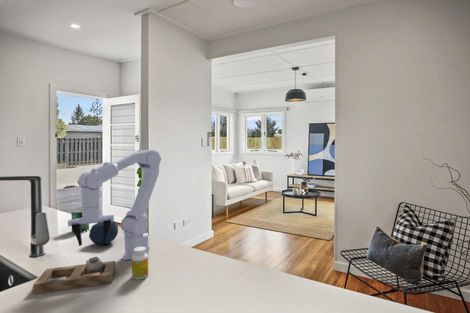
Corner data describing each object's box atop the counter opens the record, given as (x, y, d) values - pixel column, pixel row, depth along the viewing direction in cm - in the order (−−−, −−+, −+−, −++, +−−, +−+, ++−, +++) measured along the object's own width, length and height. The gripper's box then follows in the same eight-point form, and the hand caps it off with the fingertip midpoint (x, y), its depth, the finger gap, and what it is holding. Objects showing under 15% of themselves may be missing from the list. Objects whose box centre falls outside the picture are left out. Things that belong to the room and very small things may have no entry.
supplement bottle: (133, 281, 93) (132, 252, 92) (131, 274, 98) (130, 247, 97) (149, 277, 95) (149, 249, 95) (146, 271, 100) (146, 244, 100)
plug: (99, 274, 98) (98, 255, 98) (102, 278, 95) (101, 258, 95) (86, 277, 96) (85, 258, 95) (89, 282, 92) (88, 262, 92)
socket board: (115, 268, 102) (115, 259, 102) (111, 283, 92) (110, 273, 91) (46, 277, 96) (46, 267, 96) (33, 294, 85) (33, 283, 85)
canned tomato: (83, 233, 142) (83, 212, 141) (68, 233, 142) (67, 212, 141) (92, 228, 150) (91, 208, 149) (77, 228, 150) (76, 208, 149)
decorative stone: (98, 239, 133) (97, 218, 133) (122, 239, 133) (122, 218, 132) (84, 248, 121) (83, 226, 121) (111, 248, 121) (110, 226, 120)
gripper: (113, 201, 105) (114, 236, 106) (69, 205, 100) (70, 242, 100) (113, 205, 99) (114, 242, 100) (66, 209, 93) (68, 249, 94)
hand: (92, 243), depth 100 cm, fingers open, 7 cm apart
